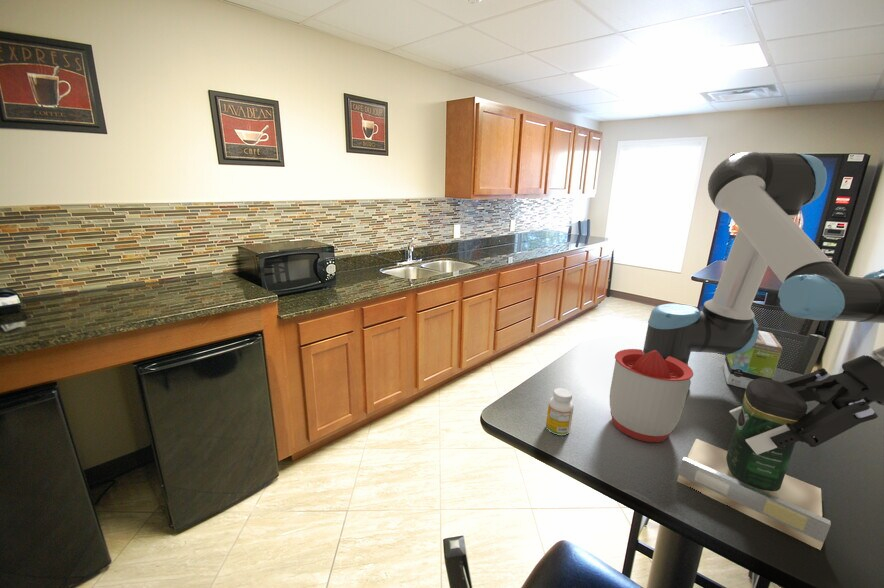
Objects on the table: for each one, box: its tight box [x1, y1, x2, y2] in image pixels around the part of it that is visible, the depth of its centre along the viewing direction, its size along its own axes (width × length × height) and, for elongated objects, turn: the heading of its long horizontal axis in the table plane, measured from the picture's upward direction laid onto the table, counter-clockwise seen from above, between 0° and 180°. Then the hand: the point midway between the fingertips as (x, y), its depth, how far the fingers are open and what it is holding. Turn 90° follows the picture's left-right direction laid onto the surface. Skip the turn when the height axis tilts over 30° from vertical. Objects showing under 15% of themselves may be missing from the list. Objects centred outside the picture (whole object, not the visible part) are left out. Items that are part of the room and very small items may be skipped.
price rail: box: [678, 456, 832, 544], centre depth 65 cm, size 20×2×4 cm, turn 46°
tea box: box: [722, 330, 783, 390], centre depth 113 cm, size 15×10×15 cm, turn 148°
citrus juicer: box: [609, 348, 694, 443], centre depth 87 cm, size 16×17×20 cm
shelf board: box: [676, 438, 824, 551], centre depth 71 cm, size 20×16×2 cm
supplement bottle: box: [545, 387, 574, 436], centre depth 85 cm, size 5×5×10 cm
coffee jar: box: [726, 378, 808, 491], centre depth 68 cm, size 10×8×19 cm
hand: (742, 431), depth 70 cm, fingers closed on coffee jar, 9 cm apart
